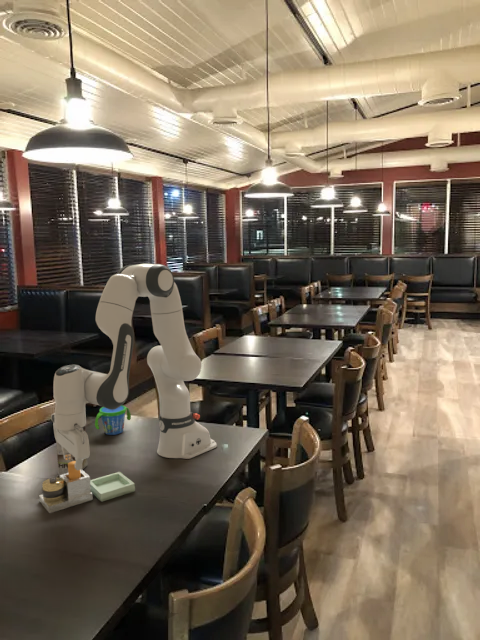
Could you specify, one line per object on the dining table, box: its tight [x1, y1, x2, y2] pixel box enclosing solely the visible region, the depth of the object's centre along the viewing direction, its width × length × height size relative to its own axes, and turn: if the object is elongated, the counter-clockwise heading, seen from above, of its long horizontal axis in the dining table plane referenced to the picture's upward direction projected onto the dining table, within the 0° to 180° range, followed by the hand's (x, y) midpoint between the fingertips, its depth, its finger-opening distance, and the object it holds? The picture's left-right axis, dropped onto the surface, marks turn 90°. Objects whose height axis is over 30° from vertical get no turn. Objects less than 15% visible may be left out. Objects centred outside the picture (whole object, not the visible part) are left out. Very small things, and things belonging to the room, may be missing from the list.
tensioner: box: [38, 469, 94, 514], centre depth 160 cm, size 13×9×8 cm
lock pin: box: [68, 461, 81, 480], centre depth 162 cm, size 4×4×9 cm
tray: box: [90, 471, 136, 502], centre depth 167 cm, size 11×11×2 cm
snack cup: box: [94, 404, 132, 436], centre depth 217 cm, size 16×10×10 cm
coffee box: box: [55, 425, 88, 476], centre depth 181 cm, size 9×6×16 cm
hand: (72, 464), depth 161 cm, fingers open, 8 cm apart
